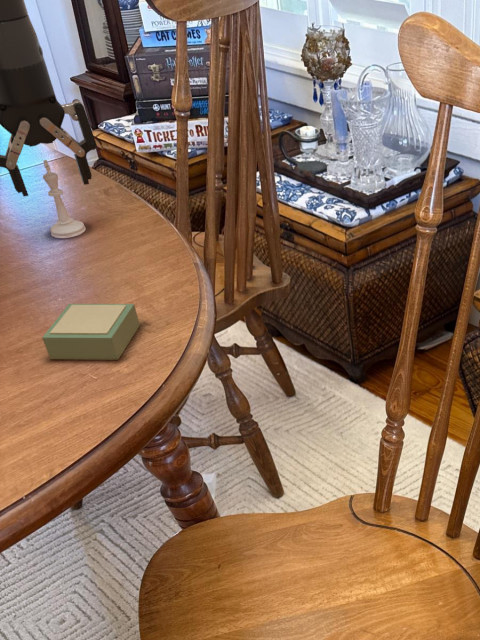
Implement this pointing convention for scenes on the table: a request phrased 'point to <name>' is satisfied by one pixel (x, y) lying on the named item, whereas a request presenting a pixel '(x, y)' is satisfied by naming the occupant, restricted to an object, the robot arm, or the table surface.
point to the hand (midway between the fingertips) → (55, 188)
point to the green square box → (92, 331)
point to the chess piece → (61, 209)
